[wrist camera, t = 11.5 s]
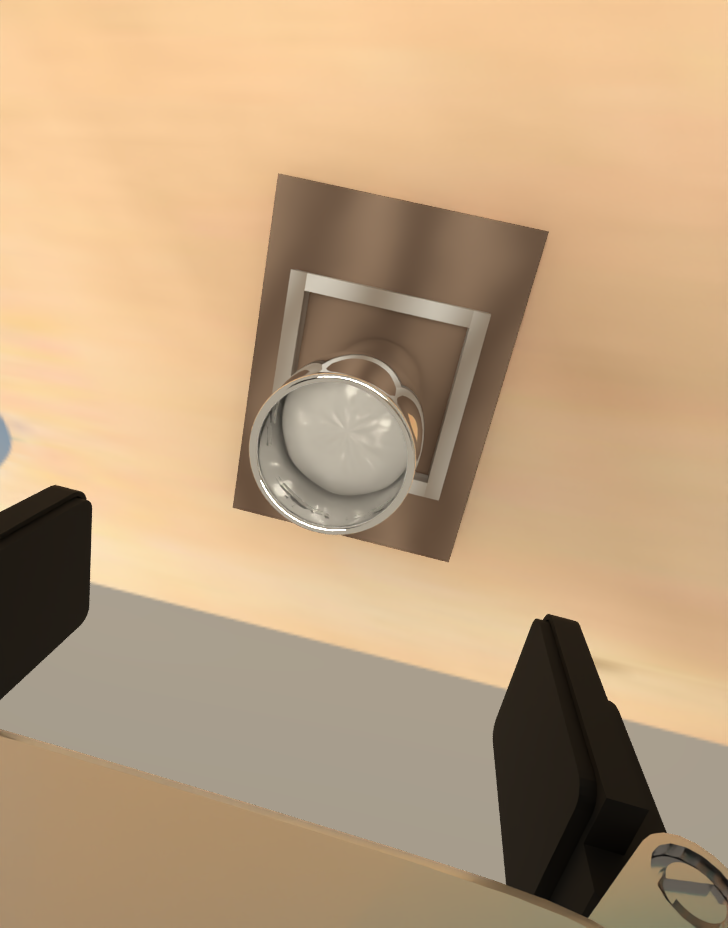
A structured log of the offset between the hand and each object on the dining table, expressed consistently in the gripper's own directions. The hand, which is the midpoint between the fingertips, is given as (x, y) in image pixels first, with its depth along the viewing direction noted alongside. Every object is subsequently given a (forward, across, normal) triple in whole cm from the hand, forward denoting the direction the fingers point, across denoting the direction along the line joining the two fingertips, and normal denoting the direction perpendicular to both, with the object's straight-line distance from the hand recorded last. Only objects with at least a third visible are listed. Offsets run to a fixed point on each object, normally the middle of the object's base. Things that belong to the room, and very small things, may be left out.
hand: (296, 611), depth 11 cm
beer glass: (+25, +2, 0) cm, 25 cm away
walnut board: (+27, +2, 0) cm, 27 cm away
